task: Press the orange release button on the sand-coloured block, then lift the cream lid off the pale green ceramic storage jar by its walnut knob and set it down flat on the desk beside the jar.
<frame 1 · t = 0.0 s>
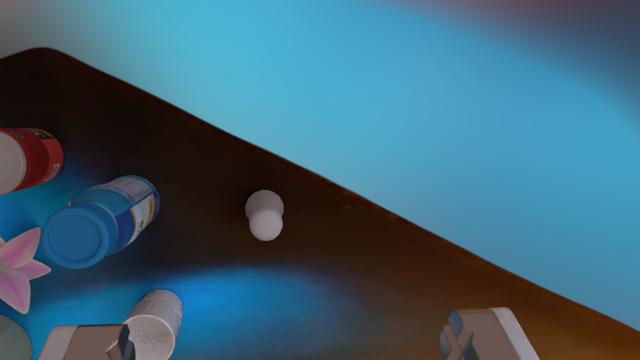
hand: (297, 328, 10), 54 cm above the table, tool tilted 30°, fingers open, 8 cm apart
salt shaker: (264, 205, 65), on the table
lily: (22, 258, 61), on the table
beverage bottle: (133, 201, 62), on the table
white cup: (161, 308, 65), on the table
canned food: (38, 155, 59), on the table
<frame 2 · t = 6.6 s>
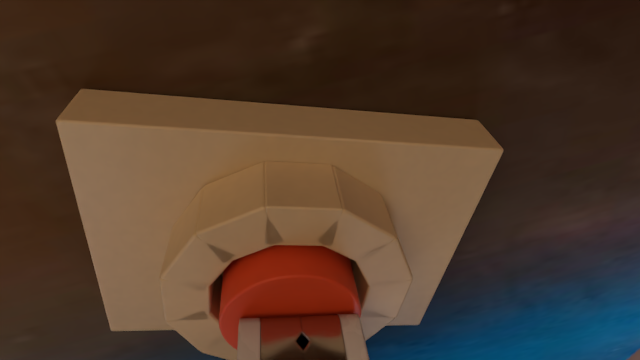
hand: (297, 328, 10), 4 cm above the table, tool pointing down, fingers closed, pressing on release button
button block: (283, 213, 14), on the table
release button: (289, 294, 11), point 3 cm above the table, slide at -0.6 cm, touching gripper
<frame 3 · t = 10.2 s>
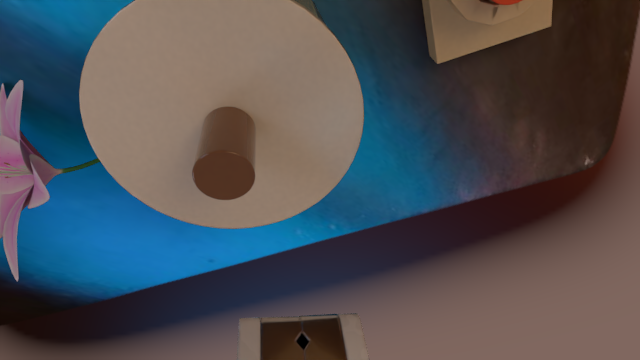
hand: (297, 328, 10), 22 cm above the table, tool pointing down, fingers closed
jar lid: (230, 123, 21), point 9 cm above the table, touching storage jar
lily: (47, 134, 30), on the table
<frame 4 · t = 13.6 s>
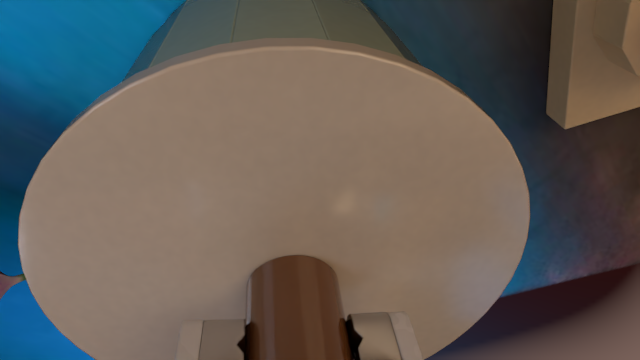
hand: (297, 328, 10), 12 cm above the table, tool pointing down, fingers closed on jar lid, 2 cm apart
storage jar: (280, 116, 20), on the table
jar lid: (291, 269, 12), point 10 cm above the table, touching gripper, storage jar
lily: (4, 216, 21), on the table
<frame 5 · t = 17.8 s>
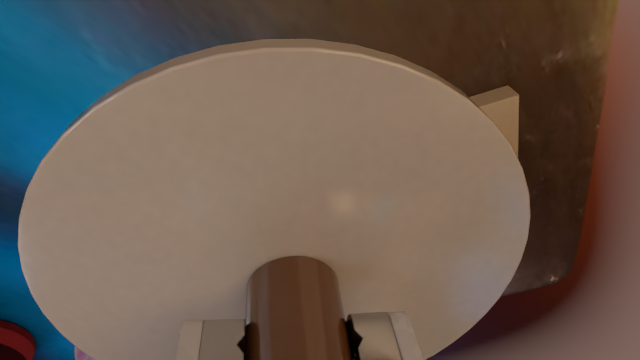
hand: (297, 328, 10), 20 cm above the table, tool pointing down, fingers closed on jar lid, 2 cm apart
button block: (459, 158, 34), on the table
jar lid: (291, 269, 12), point 18 cm above the table, touching gripper
when the fingers open (2 cm above the table, at t = 21.9 s): jar lid stays where it is, point 1 cm above the table.
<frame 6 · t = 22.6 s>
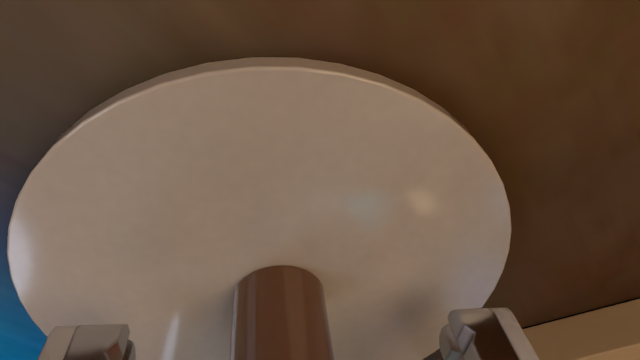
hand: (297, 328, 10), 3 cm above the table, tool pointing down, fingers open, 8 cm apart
jar lid: (278, 278, 12), point 1 cm above the table
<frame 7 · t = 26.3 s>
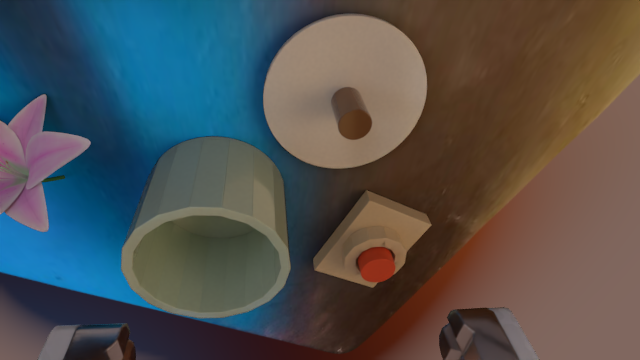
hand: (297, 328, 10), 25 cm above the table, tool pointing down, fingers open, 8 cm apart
button block: (368, 237, 45), on the table
release button: (376, 264, 42), point 4 cm above the table, slide at 0.1 cm
storage jar: (218, 192, 39), on the table
jar lid: (345, 98, 34), point 1 cm above the table
lily: (35, 136, 34), on the table
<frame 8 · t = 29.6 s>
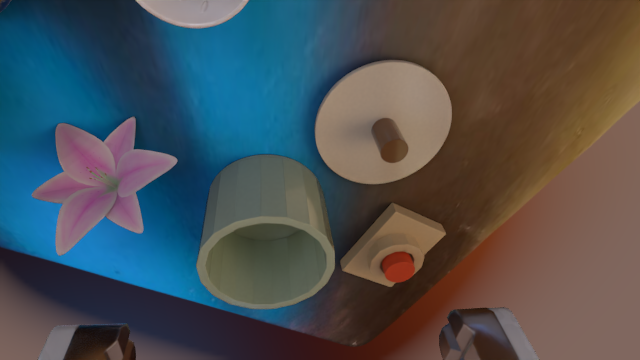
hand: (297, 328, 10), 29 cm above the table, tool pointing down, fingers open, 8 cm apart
button block: (389, 242, 52), on the table
release button: (398, 266, 49), point 4 cm above the table, slide at 0.1 cm
storage jar: (266, 201, 45), on the table
jar lid: (382, 126, 41), point 1 cm above the table
lily: (119, 150, 40), on the table
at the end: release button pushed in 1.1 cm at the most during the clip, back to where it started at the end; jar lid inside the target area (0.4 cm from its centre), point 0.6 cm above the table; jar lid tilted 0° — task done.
